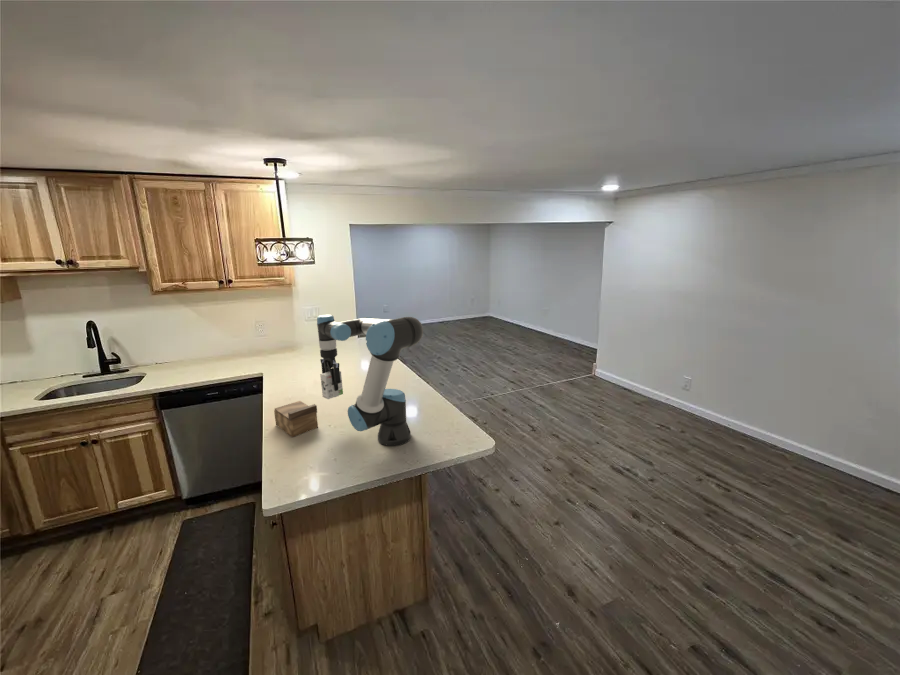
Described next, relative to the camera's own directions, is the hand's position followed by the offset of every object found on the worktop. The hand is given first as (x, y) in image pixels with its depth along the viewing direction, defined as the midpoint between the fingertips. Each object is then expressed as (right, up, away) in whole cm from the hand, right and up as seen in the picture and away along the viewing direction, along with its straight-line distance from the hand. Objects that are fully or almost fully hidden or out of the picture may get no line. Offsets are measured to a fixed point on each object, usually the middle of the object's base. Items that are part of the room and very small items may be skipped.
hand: (332, 394), depth 192 cm
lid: (-19, -8, +2) cm, 21 cm away
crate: (-19, -16, +5) cm, 26 cm away
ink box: (0, -1, 0) cm, 1 cm away
